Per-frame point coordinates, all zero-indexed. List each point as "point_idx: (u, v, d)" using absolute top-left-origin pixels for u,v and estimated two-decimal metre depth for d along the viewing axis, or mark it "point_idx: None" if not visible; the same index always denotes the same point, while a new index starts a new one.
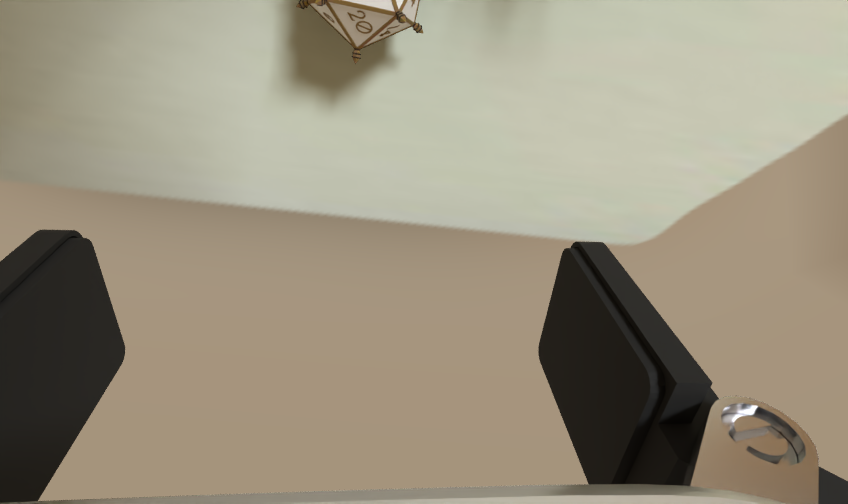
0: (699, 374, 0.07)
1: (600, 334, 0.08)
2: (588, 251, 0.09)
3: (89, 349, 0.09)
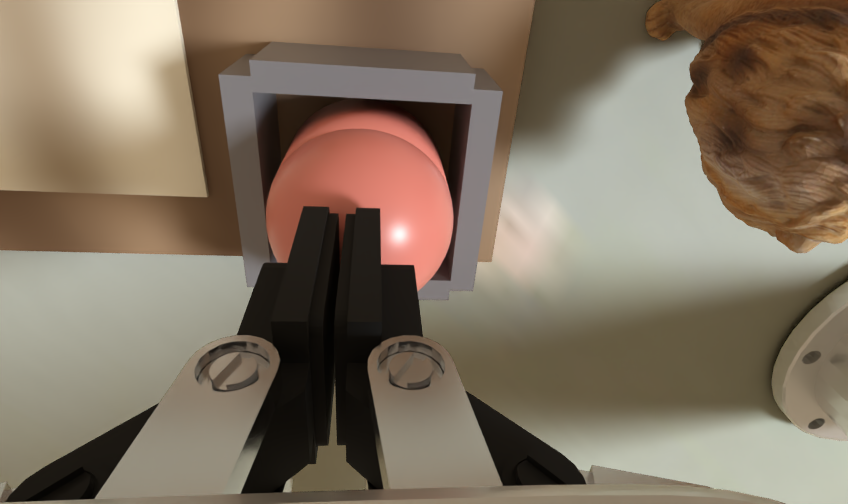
0: (375, 315, 0.07)
1: None
2: (357, 215, 0.10)
3: None
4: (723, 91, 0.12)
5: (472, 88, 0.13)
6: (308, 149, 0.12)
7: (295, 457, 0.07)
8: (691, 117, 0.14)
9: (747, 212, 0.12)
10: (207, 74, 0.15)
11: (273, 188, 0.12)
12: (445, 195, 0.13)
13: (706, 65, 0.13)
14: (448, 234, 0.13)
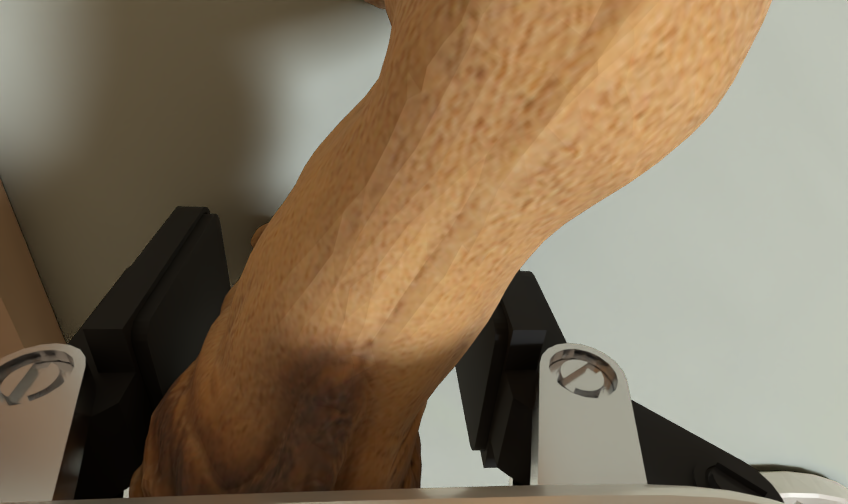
0: (538, 323, 0.07)
1: None
2: None
3: (217, 313, 0.10)
4: None
5: None
6: None
7: (121, 472, 0.07)
8: None
9: None
10: None
11: None
12: None
13: None
14: None
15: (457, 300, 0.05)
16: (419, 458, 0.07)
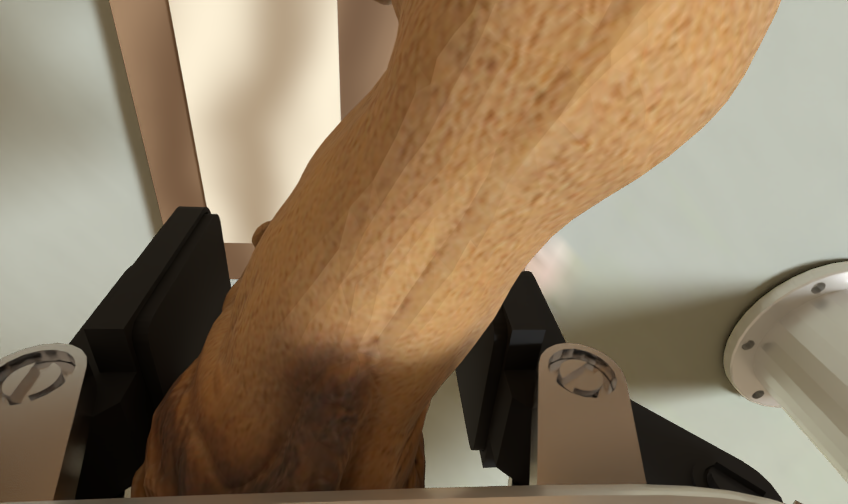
0: (537, 323, 0.07)
1: None
2: None
3: (217, 313, 0.10)
4: None
5: None
6: None
7: (122, 471, 0.07)
8: None
9: None
10: None
11: None
12: None
13: None
14: None
15: (464, 297, 0.05)
16: (423, 457, 0.07)
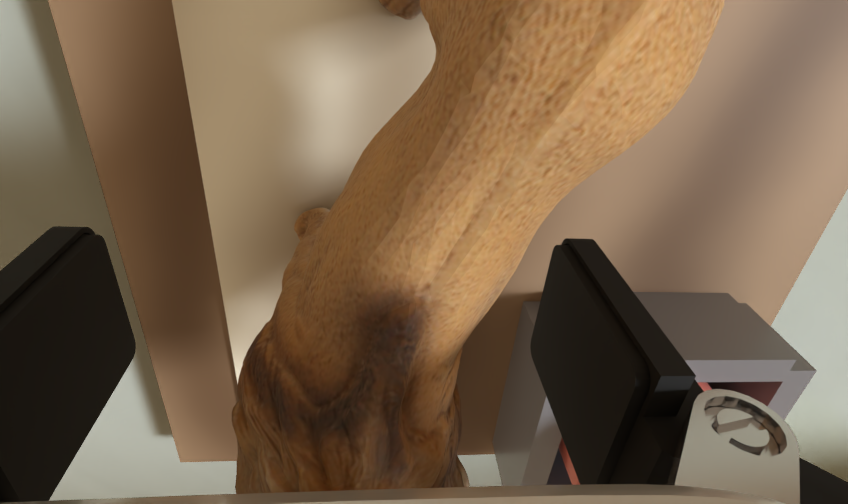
0: (684, 368, 0.07)
1: (588, 329, 0.08)
2: (578, 247, 0.09)
3: (101, 344, 0.09)
4: (238, 444, 0.09)
5: (788, 370, 0.13)
6: None
7: None
8: None
9: None
10: None
11: None
12: None
13: None
14: None
15: (494, 249, 0.06)
16: (458, 394, 0.09)
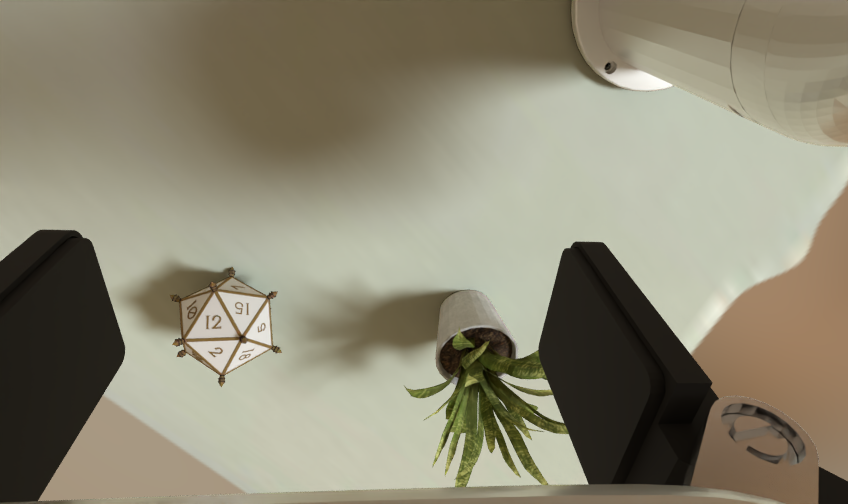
0: (699, 374, 0.07)
1: (600, 334, 0.08)
2: (588, 251, 0.09)
3: (89, 349, 0.09)
4: None
5: None
6: None
7: None
8: None
9: None
10: None
11: None
12: None
13: None
14: None
15: None
16: None
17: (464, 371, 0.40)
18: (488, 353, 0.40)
